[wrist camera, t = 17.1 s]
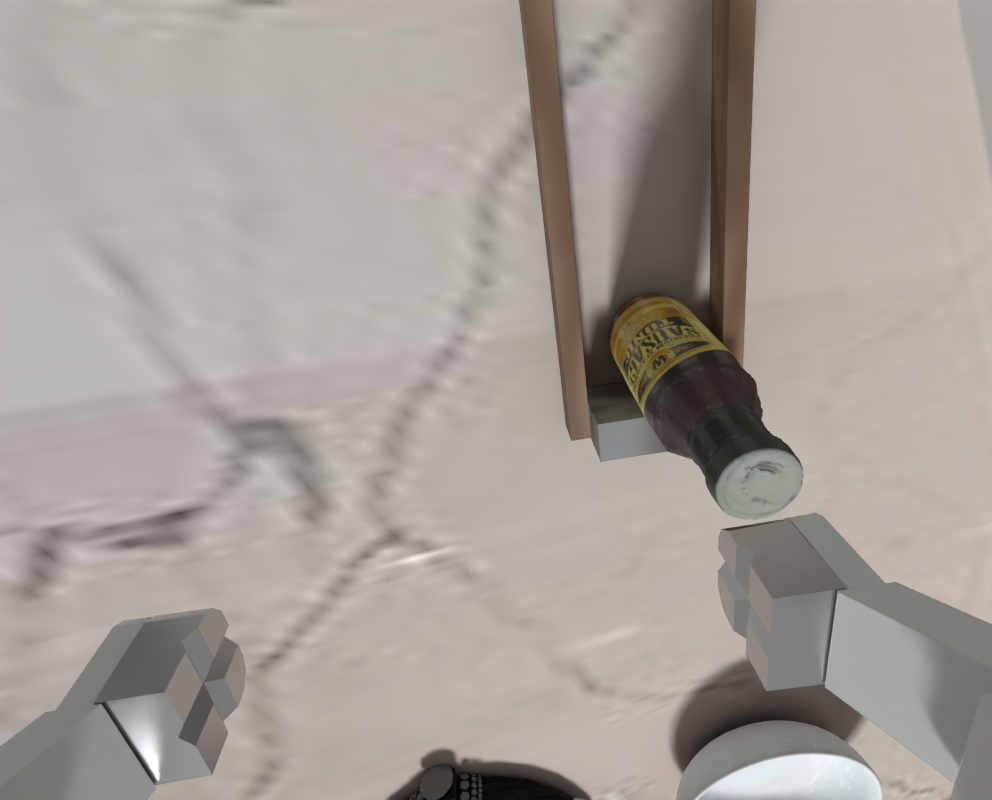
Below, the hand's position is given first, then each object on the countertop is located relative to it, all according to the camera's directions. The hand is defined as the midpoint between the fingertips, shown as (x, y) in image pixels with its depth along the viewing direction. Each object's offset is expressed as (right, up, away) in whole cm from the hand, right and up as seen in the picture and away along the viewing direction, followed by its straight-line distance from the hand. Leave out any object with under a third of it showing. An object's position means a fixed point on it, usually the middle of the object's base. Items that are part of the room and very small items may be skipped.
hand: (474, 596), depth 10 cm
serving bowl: (+29, -37, +57) cm, 74 cm away
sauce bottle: (+11, +8, +35) cm, 38 cm away
